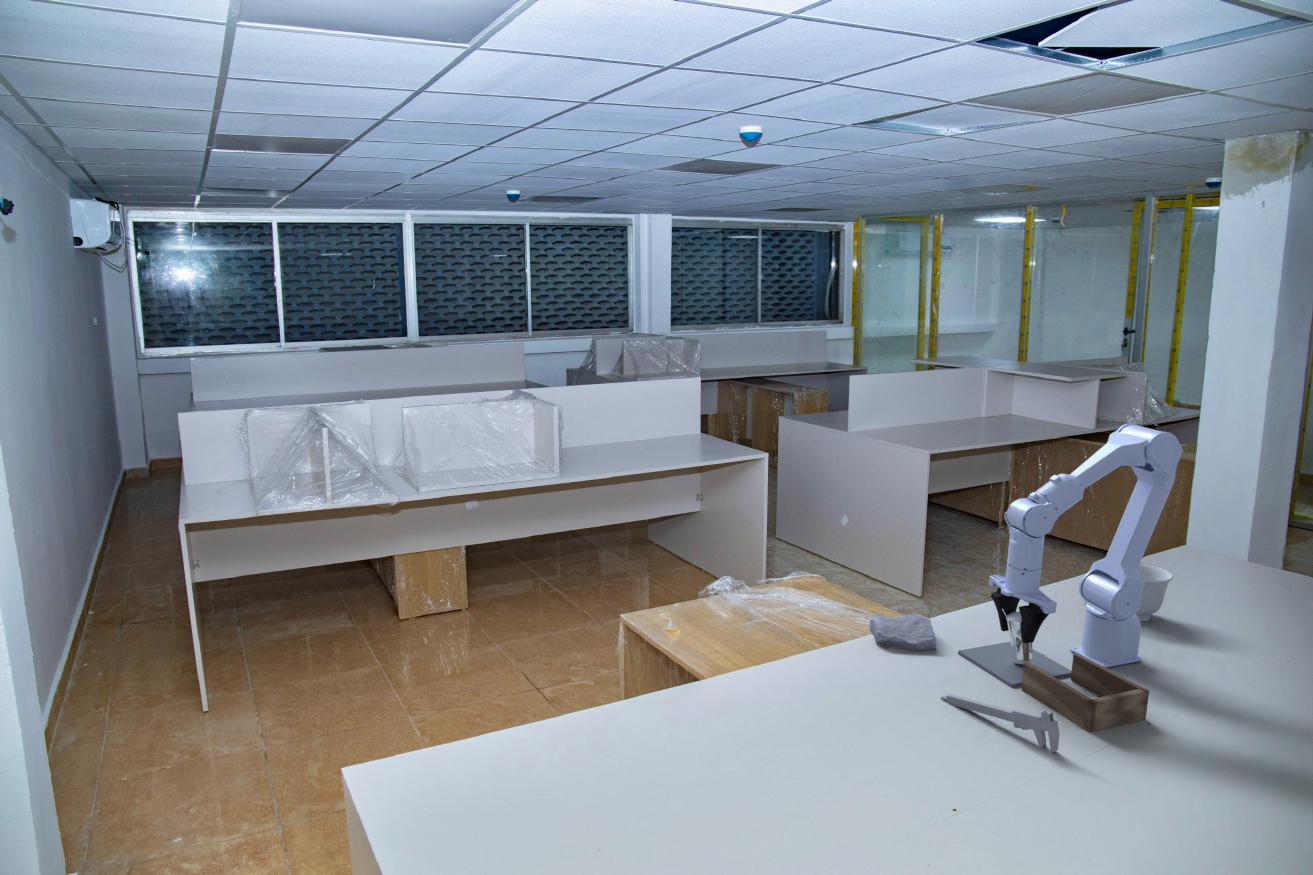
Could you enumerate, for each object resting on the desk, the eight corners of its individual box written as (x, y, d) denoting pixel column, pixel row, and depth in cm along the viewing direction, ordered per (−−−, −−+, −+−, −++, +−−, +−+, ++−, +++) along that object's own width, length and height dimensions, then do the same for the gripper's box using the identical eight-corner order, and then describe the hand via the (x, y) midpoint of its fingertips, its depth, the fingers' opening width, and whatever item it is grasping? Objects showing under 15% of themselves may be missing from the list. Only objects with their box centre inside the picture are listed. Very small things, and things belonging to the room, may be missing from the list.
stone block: (939, 660, 164) (927, 629, 173) (941, 639, 162) (929, 609, 171) (875, 660, 164) (867, 629, 174) (877, 639, 163) (868, 609, 172)
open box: (1074, 679, 152) (1077, 652, 151) (1145, 719, 139) (1149, 690, 138) (1021, 689, 148) (1024, 662, 147) (1088, 731, 135) (1092, 702, 134)
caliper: (1057, 753, 130) (1061, 715, 128) (1053, 755, 129) (1057, 717, 128) (943, 698, 146) (946, 664, 145) (939, 700, 145) (942, 665, 144)
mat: (1016, 643, 167) (1017, 640, 167) (1073, 675, 154) (1074, 672, 154) (958, 653, 162) (958, 650, 162) (1011, 687, 149) (1011, 684, 149)
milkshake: (1000, 660, 159) (996, 606, 159) (1028, 658, 159) (1025, 604, 159) (1011, 666, 154) (1007, 610, 154) (1040, 664, 154) (1036, 608, 155)
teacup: (1101, 596, 191) (1106, 554, 189) (1175, 616, 180) (1181, 571, 178) (1079, 610, 183) (1084, 566, 181) (1155, 632, 172) (1161, 585, 170)
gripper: (978, 555, 160) (972, 623, 162) (1036, 581, 146) (1029, 655, 149) (1008, 551, 162) (1002, 618, 165) (1068, 577, 149) (1060, 650, 151)
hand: (1016, 635), depth 157 cm, fingers closed on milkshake, 5 cm apart
